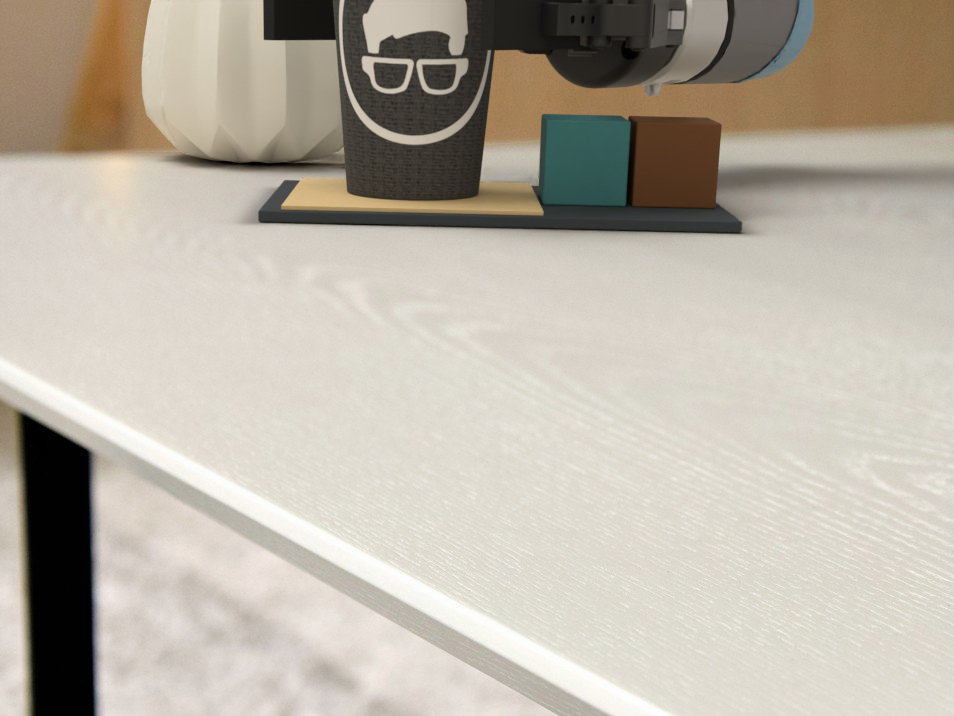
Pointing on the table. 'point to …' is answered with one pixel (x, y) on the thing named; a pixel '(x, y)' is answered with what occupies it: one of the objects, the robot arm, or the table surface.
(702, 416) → the table surface
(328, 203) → the word mat
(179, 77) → the vase
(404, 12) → the coffee cup
